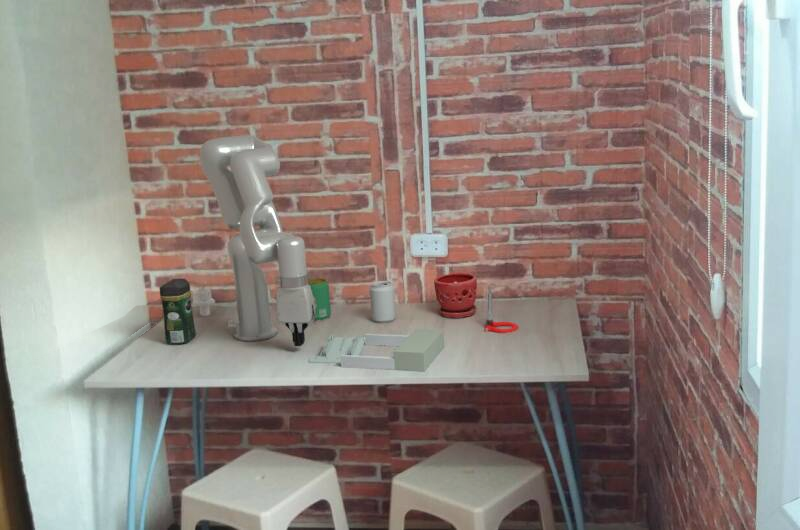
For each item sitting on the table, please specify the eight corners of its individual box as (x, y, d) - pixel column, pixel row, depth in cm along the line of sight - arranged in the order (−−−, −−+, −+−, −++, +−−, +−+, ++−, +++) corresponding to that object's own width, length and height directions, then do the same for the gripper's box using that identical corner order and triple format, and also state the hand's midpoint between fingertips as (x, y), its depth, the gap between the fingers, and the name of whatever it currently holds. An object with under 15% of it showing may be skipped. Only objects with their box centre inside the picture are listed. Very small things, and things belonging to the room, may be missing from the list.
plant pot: (456, 306, 292) (454, 270, 290) (486, 313, 283) (485, 275, 280) (427, 315, 284) (425, 278, 281) (457, 322, 274) (455, 284, 272)
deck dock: (341, 366, 241) (339, 348, 240) (366, 343, 259) (365, 326, 258) (424, 371, 234) (423, 352, 233) (444, 347, 252) (443, 329, 251)
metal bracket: (321, 330, 256) (372, 330, 252) (324, 347, 259) (375, 348, 255) (306, 360, 244) (360, 361, 240) (310, 377, 247) (363, 378, 243)
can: (400, 318, 282) (398, 280, 280) (387, 324, 276) (385, 286, 274) (380, 315, 286) (378, 278, 284) (367, 322, 280) (364, 284, 278)
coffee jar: (174, 335, 278) (167, 276, 274) (199, 335, 276) (192, 276, 272) (161, 345, 268) (154, 284, 264) (187, 345, 267) (180, 284, 263)
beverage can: (300, 319, 288) (297, 282, 285) (318, 312, 294) (315, 277, 291) (318, 322, 283) (315, 285, 280) (336, 316, 288) (333, 279, 286)
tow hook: (520, 326, 268) (490, 324, 271) (521, 284, 265) (490, 282, 268) (514, 335, 261) (483, 332, 264) (515, 292, 258) (483, 289, 261)
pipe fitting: (214, 316, 296) (211, 292, 295) (192, 317, 296) (189, 294, 295) (218, 311, 302) (215, 288, 301) (196, 312, 303) (194, 289, 301)
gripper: (263, 284, 249) (269, 348, 253) (313, 285, 245) (318, 350, 249) (275, 277, 256) (280, 339, 260) (324, 278, 252) (328, 341, 256)
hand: (299, 344), depth 255 cm, fingers closed
